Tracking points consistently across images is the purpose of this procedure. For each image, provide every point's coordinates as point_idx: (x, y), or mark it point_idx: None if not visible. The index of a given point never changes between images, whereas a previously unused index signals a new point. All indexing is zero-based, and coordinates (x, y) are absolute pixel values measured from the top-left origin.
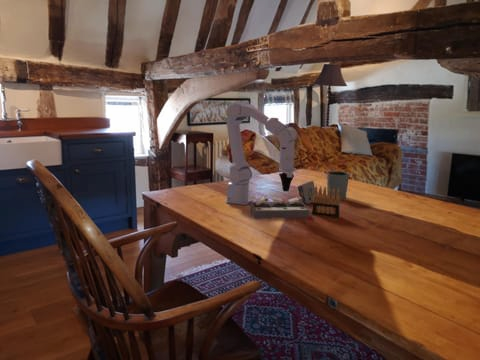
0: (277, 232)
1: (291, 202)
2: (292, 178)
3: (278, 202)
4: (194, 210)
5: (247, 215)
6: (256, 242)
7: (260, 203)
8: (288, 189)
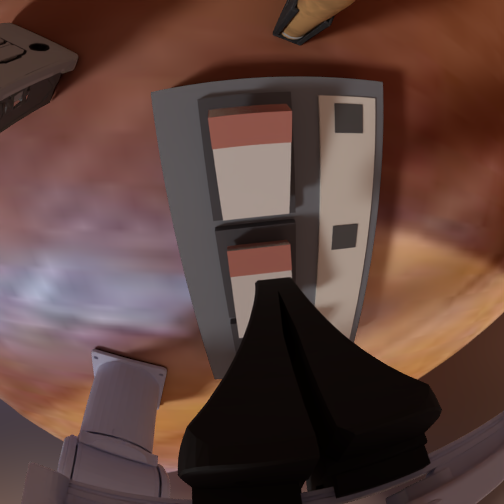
0: (473, 258)
1: (287, 198)
2: (406, 377)
3: None
4: None
5: None
6: (491, 304)
7: None
8: (299, 290)
